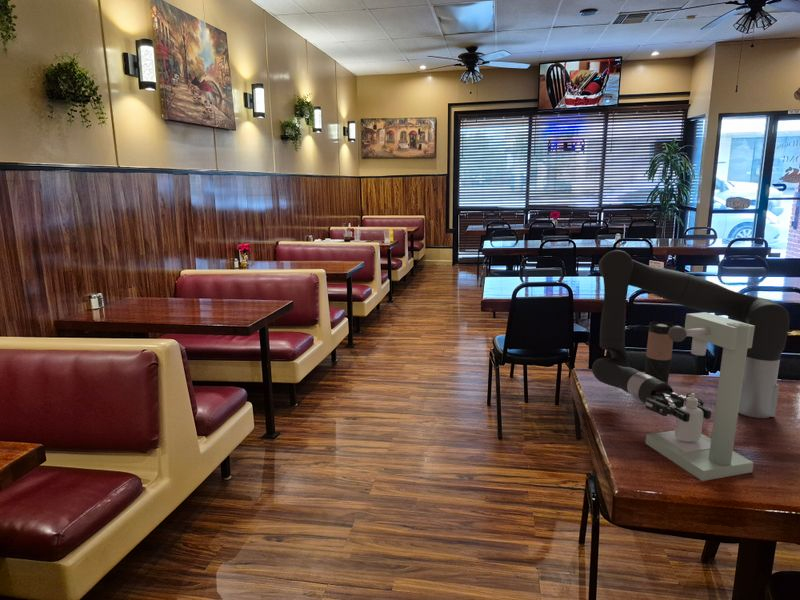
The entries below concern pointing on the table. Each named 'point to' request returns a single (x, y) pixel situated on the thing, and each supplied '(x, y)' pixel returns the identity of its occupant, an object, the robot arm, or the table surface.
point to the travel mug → (659, 351)
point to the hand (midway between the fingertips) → (698, 416)
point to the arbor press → (716, 452)
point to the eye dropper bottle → (690, 421)
